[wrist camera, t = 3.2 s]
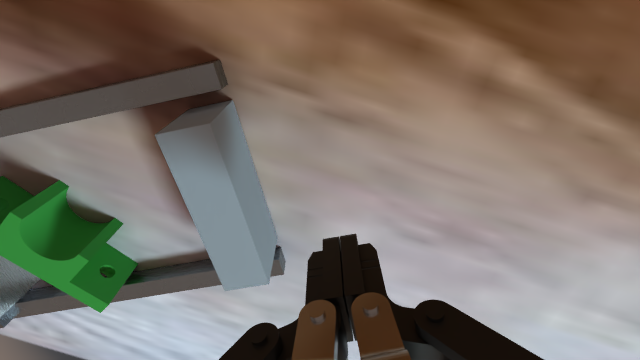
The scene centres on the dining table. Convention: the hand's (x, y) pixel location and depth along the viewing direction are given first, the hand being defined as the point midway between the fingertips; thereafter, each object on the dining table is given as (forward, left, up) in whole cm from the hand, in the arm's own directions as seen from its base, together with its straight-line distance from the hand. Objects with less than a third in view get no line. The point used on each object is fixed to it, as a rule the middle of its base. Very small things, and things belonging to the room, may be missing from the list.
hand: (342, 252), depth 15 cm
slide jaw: (0, -7, -10) cm, 12 cm away
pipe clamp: (+1, -20, -10) cm, 22 cm away
